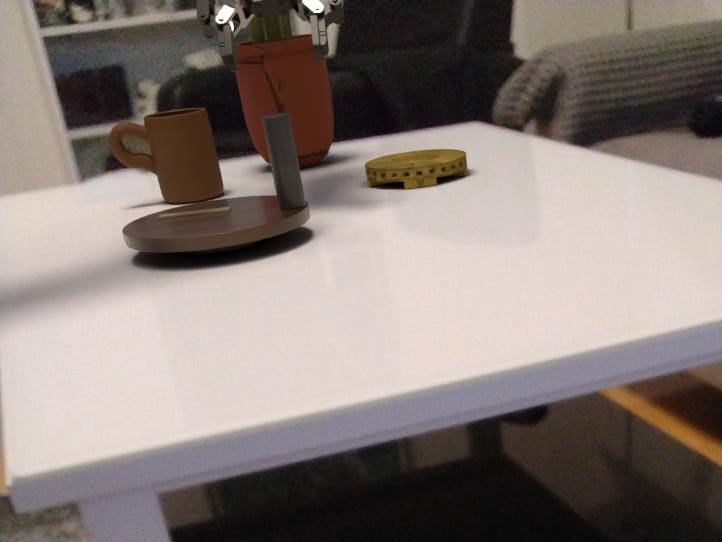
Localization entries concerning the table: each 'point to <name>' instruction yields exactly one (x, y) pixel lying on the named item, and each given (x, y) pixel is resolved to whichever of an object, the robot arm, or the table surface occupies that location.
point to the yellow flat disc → (416, 167)
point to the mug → (174, 153)
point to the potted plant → (285, 88)
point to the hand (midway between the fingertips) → (275, 61)
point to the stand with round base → (231, 208)
